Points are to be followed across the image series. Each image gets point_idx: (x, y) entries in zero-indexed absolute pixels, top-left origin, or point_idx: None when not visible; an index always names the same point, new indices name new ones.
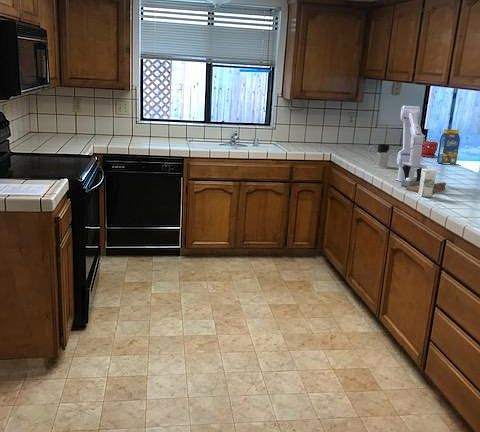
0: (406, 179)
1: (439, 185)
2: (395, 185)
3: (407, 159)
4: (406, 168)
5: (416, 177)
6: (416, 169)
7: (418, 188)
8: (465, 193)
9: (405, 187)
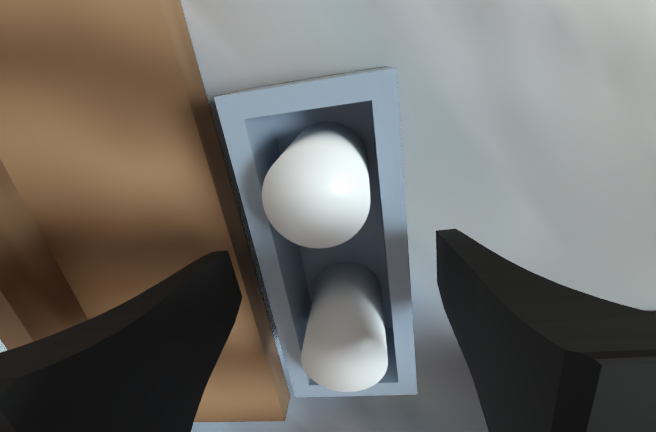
0: (338, 145)
1: None
2: (480, 28)
3: None
4: (534, 388)
5: (328, 364)
6: (2, 388)
7: (43, 81)
8: None
9: (306, 79)
